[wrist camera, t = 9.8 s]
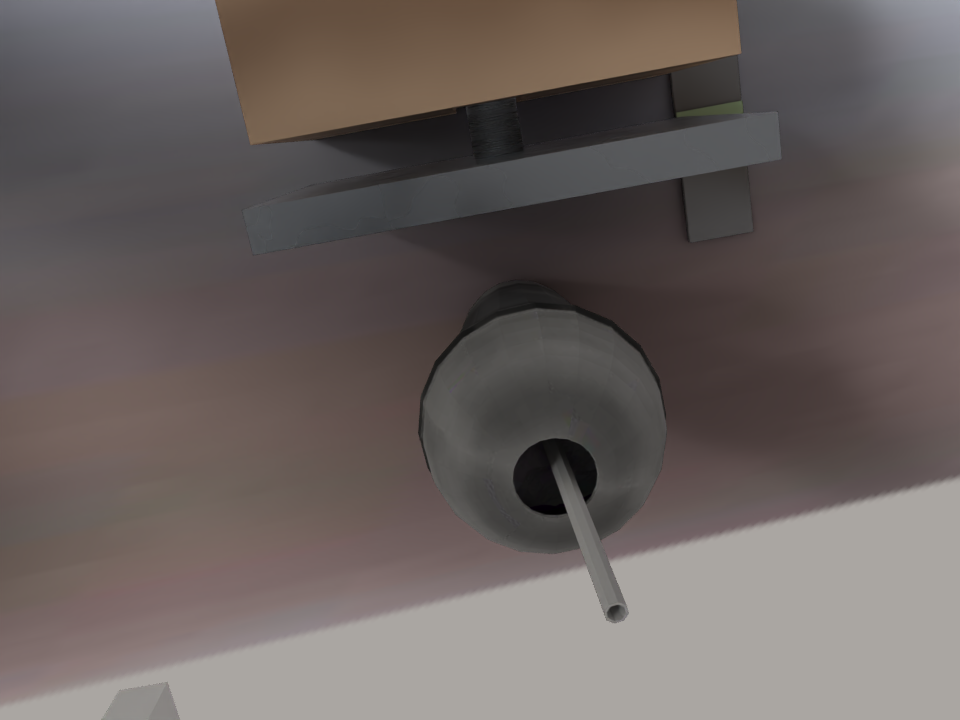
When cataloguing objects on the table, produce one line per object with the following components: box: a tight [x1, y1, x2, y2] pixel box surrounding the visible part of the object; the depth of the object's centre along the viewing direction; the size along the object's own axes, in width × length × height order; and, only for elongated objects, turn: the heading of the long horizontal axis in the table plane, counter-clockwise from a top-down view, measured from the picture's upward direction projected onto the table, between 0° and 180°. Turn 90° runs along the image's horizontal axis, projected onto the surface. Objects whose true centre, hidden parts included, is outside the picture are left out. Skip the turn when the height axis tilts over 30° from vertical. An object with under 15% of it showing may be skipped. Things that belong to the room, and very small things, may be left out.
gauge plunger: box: [242, 98, 782, 255], centre depth 25 cm, size 10×16×10 cm, turn 100°
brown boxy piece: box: [215, 0, 753, 243], centre depth 29 cm, size 12×17×10 cm
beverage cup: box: [418, 280, 667, 623], centre depth 26 cm, size 7×7×20 cm
